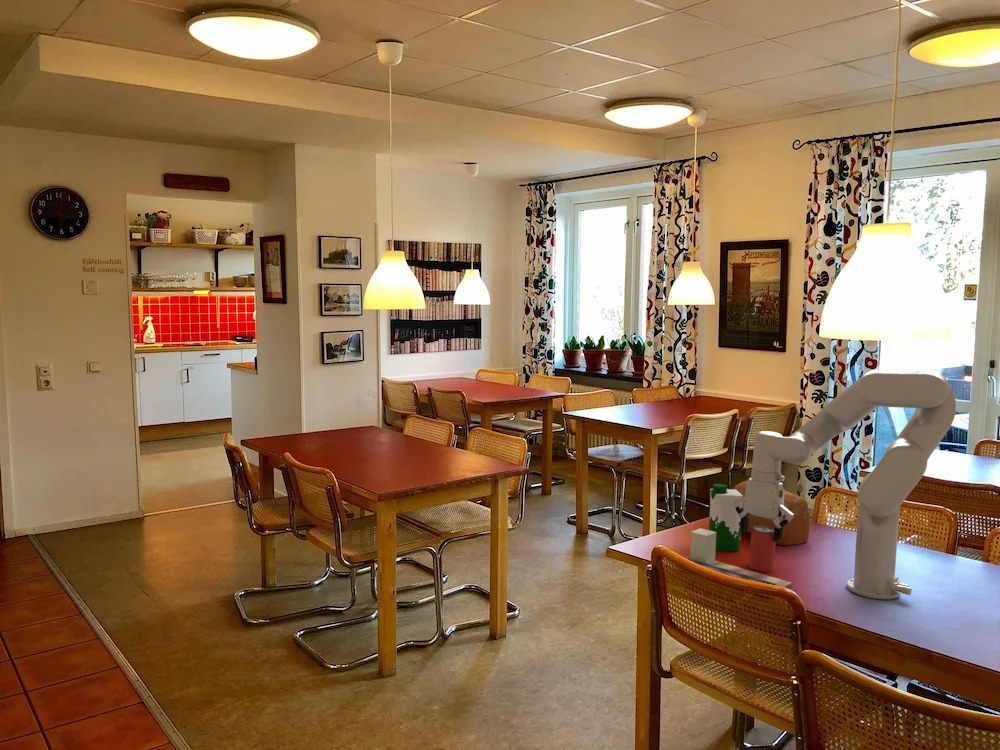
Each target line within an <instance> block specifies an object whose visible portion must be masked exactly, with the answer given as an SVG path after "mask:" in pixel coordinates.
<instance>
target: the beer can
mask: <svg viewBox="0 0 1000 750" xmlns="http://www.w3.org/2000/svg"><path fill="white" fill-rule="evenodd" d="M773 535H774V529H772V528H770V527H765V526H756V527H754V528H753V531H752V533H750V543H749V544H750V546H749V566H748V567H749V568H750V569H752V570H755V571H757V572H765V573H767V572H768V573H769V572H772V571H774V570H775V556H776V555H775V554H776V544H775V543H776V542H774V541H773Z"/></svg>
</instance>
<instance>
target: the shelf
mask: <svg viewBox="0 0 1000 750" xmlns="http://www.w3.org/2000/svg"><path fill="white" fill-rule="evenodd" d="M683 557H684V558H686V559H688V560H690V561H693V562H695V563H697V564H699V565H702V566H704V567H706V568H709V569H712V570H714V571H717V572H721V573H723V574H726V575H729V576H734V577H738V578H743V579H746V580H751V581H757V582H762V583H767V584H772V585H779V586H783V587H786V588H787V589H789V588H790V587H792V584H793V583H792V581H787V580H784V579H781V578H777V577H774V576H771V575H767V574H764V573H761V572H760V573H759V572H758V571H753V570H749V569H746V568H742V567H738V566H736V565H733V564H728V563H726V562H721V561H718V560H715V563H714V564H712V565H711V564H707V563H704V562H700V561H697V560H694V559H690V557H686V556H683Z"/></svg>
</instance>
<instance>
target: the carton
mask: <svg viewBox="0 0 1000 750" xmlns="http://www.w3.org/2000/svg"><path fill="white" fill-rule="evenodd" d="M715 550H716V532H714V531H710V530H709V529H705V528H703V527H702V528H701V527H700V528H697V529H695V530H692V531H691V532H690V552H689V558H690V559H694V560H697V561H700V562H704V563H707V564H711V565H712V564H714V563H715V561H716V551H715Z"/></svg>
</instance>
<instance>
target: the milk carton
mask: <svg viewBox="0 0 1000 750" xmlns="http://www.w3.org/2000/svg"><path fill="white" fill-rule="evenodd" d="M732 489H733V488H732ZM732 489H729V488H728V485H726V484H724V483H714V484H712V488H710V489H709V496H710V499H709V520H708V521H709V522H708V524H709V526H708V530H710V531H714V532H716V550H715V552H739V551H740V547H741V539H742V538H741V537H742V532H740V531H741V528H740V519H741V518H740V517H739V514H738V513H737V511H736V507H735V505H734V503H733V500H736V499H739V498H743V495H742V494H740V493H739V492H738V491H737V490H732ZM742 505H743V502H741V503H740V506H741V507H742Z"/></svg>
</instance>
